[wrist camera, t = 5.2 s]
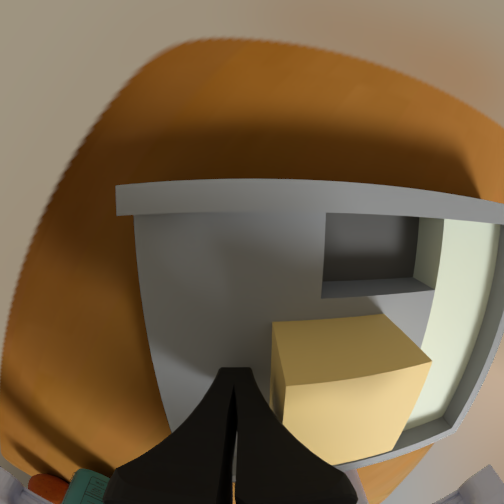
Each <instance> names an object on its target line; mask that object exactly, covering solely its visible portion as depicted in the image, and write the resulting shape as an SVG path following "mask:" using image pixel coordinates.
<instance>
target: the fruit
mask: <svg viewBox="0 0 504 504" xmlns="http://www.w3.org/2000/svg"><path fill="white" fill-rule="evenodd" d="M67 486H68V483H67V482H65V481H63V480H62V479H60V478H58V477H55V476H52V475H49V474H37V475H34V476H33V477H31V479H30V480H29V483H28V489H29V490H30V491H32V492H34V493H35V494H37V495H39V496H41V497H42V498H44V499H46V500H48V501H50V502H52V503H54V504H60V502H61V501H63V499H64V498H63V497H65V494H66V493H65V491H66V492H67V490H68V489H67V488H68V487H69V486H68V487H67ZM63 495H64V496H63ZM61 504H62V502H61Z"/></svg>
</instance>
